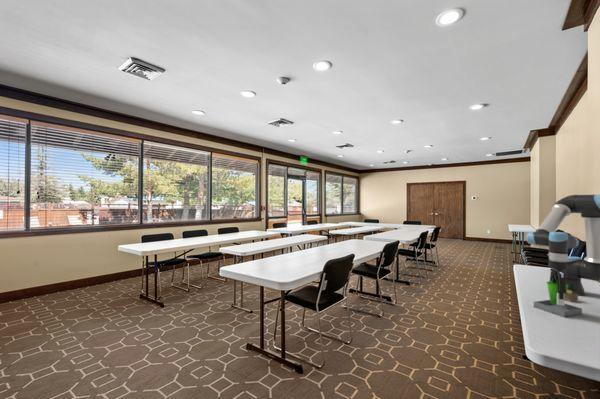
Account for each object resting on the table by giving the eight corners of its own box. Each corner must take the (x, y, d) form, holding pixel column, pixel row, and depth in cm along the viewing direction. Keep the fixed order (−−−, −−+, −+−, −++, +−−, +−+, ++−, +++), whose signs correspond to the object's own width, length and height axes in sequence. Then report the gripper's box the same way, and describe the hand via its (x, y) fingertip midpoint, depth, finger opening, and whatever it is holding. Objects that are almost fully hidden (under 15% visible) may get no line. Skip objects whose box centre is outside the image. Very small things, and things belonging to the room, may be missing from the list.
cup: (573, 307, 147) (573, 286, 147) (552, 306, 149) (553, 285, 149) (560, 301, 156) (561, 282, 156) (542, 300, 158) (542, 280, 158)
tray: (550, 304, 161) (550, 299, 161) (582, 314, 148) (582, 308, 148) (533, 307, 157) (533, 301, 157) (564, 317, 143) (564, 311, 143)
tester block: (563, 297, 175) (563, 290, 175) (577, 300, 169) (577, 294, 169) (556, 298, 173) (556, 291, 173) (570, 302, 166) (570, 295, 166)
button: (565, 293, 174) (565, 288, 174) (573, 295, 169) (573, 290, 169) (560, 293, 172) (560, 288, 172) (569, 296, 168) (569, 291, 168)
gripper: (542, 256, 164) (542, 295, 164) (556, 263, 144) (555, 307, 144) (559, 258, 160) (558, 297, 160) (575, 265, 141) (574, 310, 141)
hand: (557, 302), depth 152 cm, fingers closed on cup, 9 cm apart
